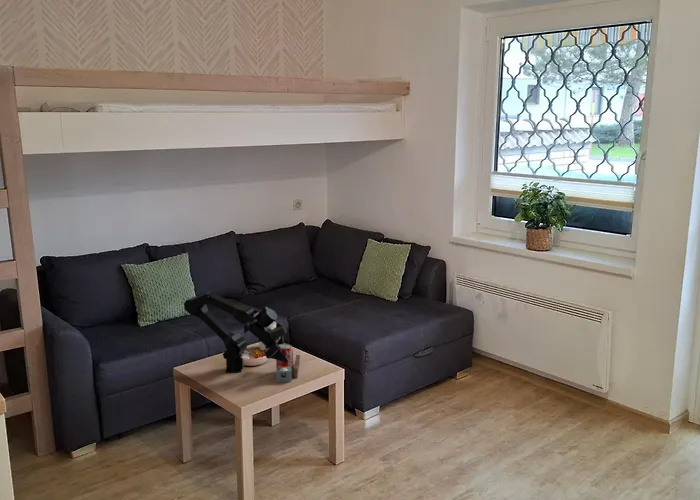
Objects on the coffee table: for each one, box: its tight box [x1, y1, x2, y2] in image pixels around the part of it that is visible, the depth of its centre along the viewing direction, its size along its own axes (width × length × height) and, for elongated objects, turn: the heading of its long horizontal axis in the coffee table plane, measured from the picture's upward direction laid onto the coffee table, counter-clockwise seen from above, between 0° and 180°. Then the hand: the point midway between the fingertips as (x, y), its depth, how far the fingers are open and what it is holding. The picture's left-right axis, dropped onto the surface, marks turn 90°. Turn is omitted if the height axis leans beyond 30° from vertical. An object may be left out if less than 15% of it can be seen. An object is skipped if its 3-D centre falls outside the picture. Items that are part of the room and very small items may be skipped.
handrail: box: [293, 354, 301, 379], centre depth 276 cm, size 2×15×4 cm, turn 1°
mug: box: [258, 321, 277, 349], centre depth 300 cm, size 8×12×12 cm
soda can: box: [275, 343, 294, 373], centre depth 273 cm, size 7×7×12 cm
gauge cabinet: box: [275, 368, 293, 383], centre depth 267 cm, size 6×4×5 cm, turn 91°
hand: (288, 357), depth 273 cm, fingers open, 9 cm apart
